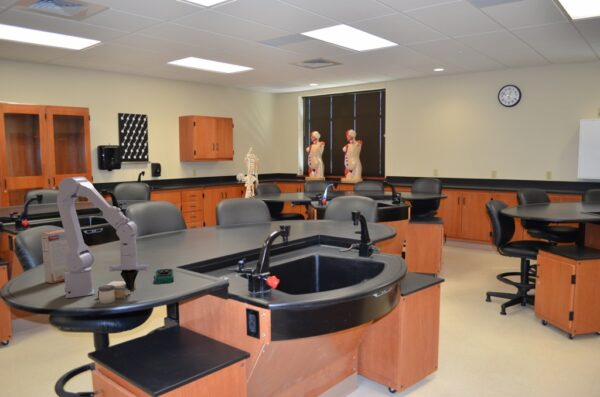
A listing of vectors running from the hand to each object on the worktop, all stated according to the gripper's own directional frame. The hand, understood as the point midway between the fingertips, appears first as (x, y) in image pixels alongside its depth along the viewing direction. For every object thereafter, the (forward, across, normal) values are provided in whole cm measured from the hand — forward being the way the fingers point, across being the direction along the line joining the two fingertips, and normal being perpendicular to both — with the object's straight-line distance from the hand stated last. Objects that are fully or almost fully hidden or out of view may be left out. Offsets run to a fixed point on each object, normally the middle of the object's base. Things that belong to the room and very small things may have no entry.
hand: (130, 289), depth 175 cm
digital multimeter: (+2, -6, -21) cm, 22 cm away
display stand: (+1, +4, 0) cm, 5 cm away
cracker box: (+2, +37, -22) cm, 43 cm away
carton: (+2, +5, 0) cm, 5 cm away
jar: (+2, +5, +9) cm, 11 cm away
